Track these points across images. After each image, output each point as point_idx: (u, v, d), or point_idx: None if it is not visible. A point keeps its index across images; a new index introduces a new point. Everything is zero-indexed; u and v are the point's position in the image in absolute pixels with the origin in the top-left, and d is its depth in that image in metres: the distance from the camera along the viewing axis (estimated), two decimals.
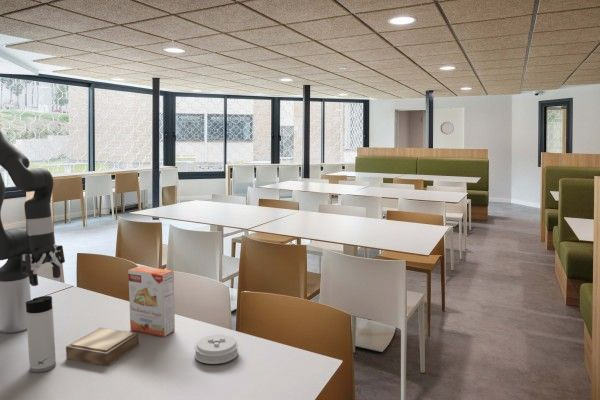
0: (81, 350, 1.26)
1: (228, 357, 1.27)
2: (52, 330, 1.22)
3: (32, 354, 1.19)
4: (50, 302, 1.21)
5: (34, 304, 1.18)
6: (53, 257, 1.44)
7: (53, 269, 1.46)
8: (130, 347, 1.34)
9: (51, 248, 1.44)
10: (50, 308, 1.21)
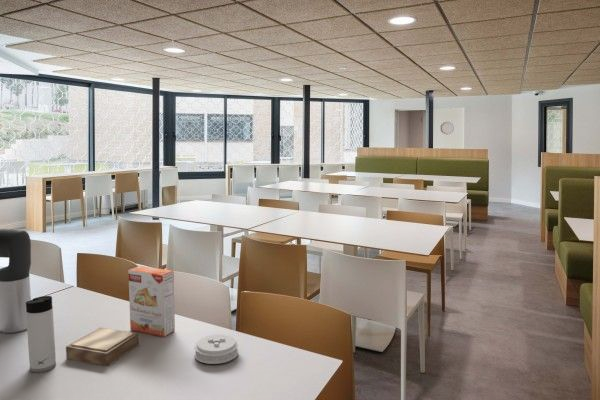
0: (81, 350, 1.26)
1: (228, 357, 1.27)
2: (52, 330, 1.22)
3: (32, 354, 1.19)
4: (50, 302, 1.21)
5: (34, 304, 1.18)
6: None
7: None
8: (130, 347, 1.34)
9: None
10: (50, 308, 1.21)
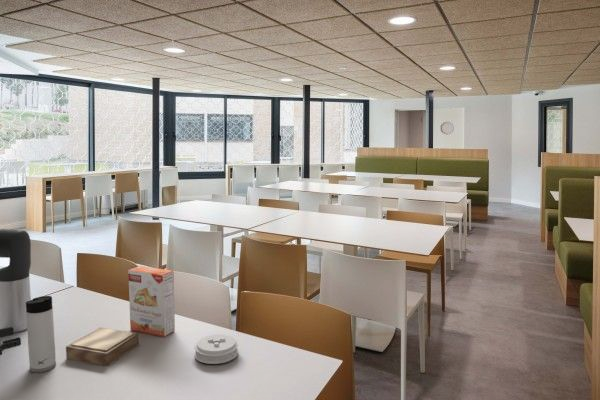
0: (81, 350, 1.26)
1: (228, 357, 1.27)
2: (52, 330, 1.22)
3: (32, 354, 1.19)
4: (50, 302, 1.21)
5: (34, 304, 1.18)
6: None
7: None
8: (130, 347, 1.34)
9: None
10: (50, 308, 1.21)
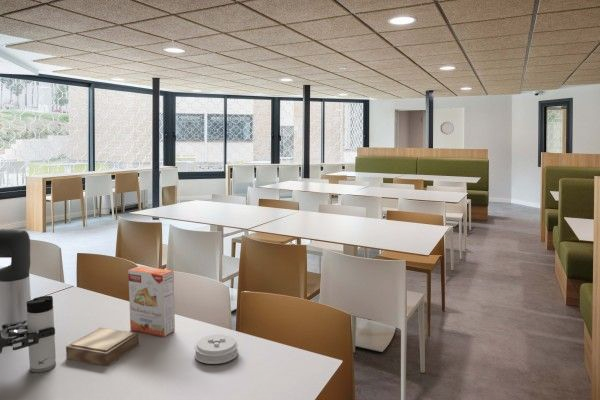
0: (81, 350, 1.26)
1: (228, 357, 1.27)
2: None
3: (32, 353, 1.19)
4: (51, 302, 1.21)
5: (35, 304, 1.18)
6: None
7: None
8: (130, 347, 1.34)
9: None
10: (51, 308, 1.21)
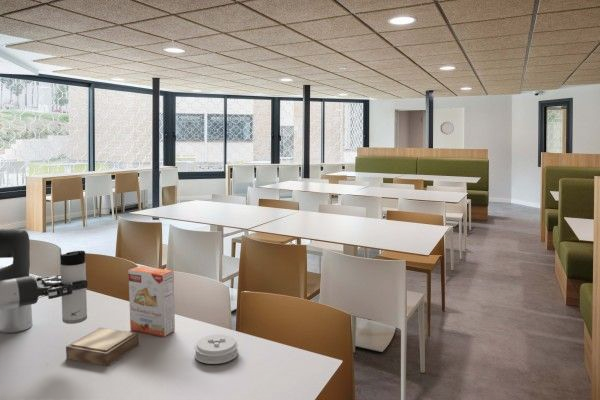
0: (81, 350, 1.26)
1: (228, 357, 1.27)
2: None
3: (66, 305, 1.23)
4: (83, 256, 1.25)
5: (68, 256, 1.21)
6: None
7: None
8: (130, 347, 1.34)
9: None
10: (83, 262, 1.25)
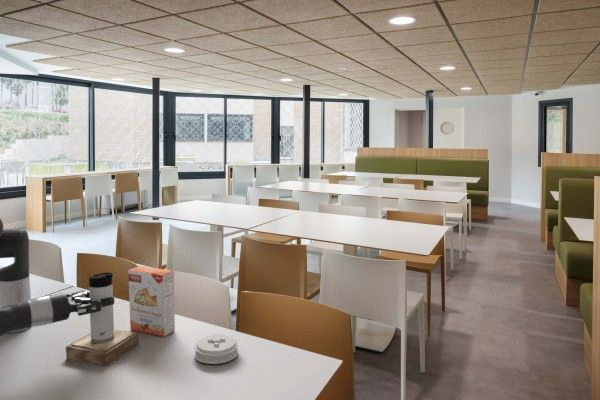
0: (81, 350, 1.26)
1: (228, 357, 1.27)
2: None
3: (94, 325, 1.28)
4: (111, 278, 1.30)
5: (97, 279, 1.27)
6: None
7: None
8: (130, 347, 1.34)
9: None
10: (111, 283, 1.30)
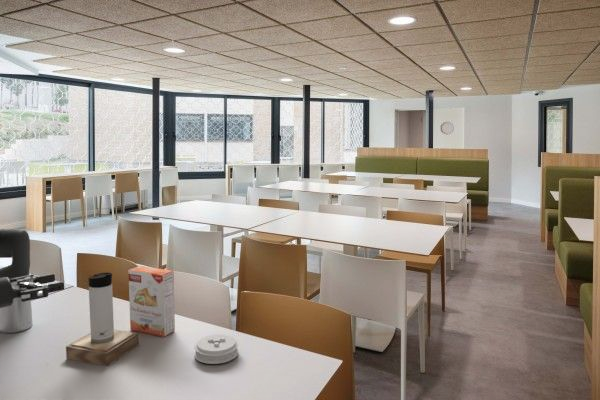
0: (81, 350, 1.26)
1: (228, 357, 1.27)
2: (112, 304, 1.31)
3: (94, 325, 1.28)
4: (110, 278, 1.30)
5: (97, 279, 1.27)
6: None
7: None
8: (130, 347, 1.34)
9: None
10: (110, 283, 1.30)
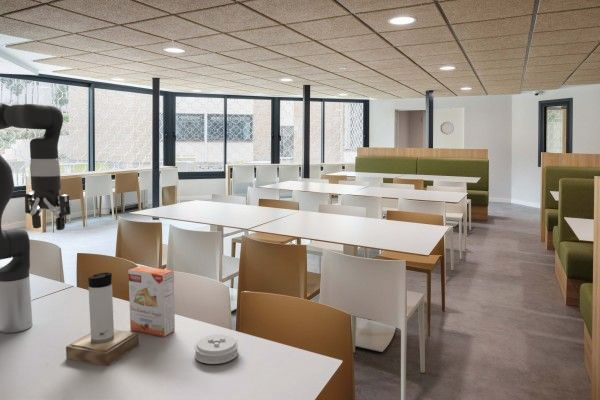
0: (81, 350, 1.26)
1: (228, 357, 1.27)
2: (112, 304, 1.31)
3: (94, 325, 1.28)
4: (110, 278, 1.30)
5: (97, 279, 1.27)
6: (48, 205, 1.29)
7: None
8: (130, 347, 1.34)
9: (50, 195, 1.29)
10: (110, 283, 1.30)
